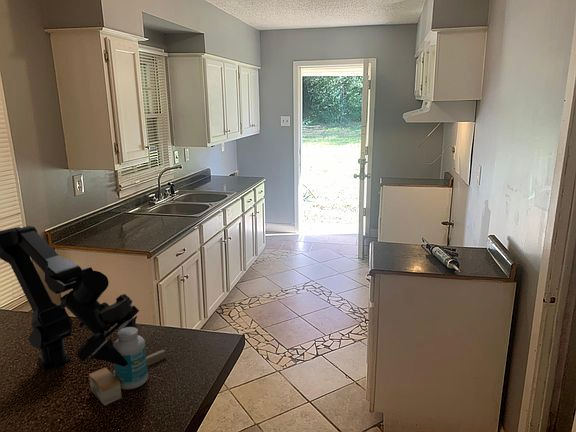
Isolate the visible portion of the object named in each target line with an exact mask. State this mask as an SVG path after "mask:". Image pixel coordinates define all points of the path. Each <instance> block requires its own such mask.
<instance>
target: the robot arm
mask: <svg viewBox="0 0 576 432" xmlns="http://www.w3.org/2000/svg"><path fill="white" fill-rule="evenodd" d="M0 260H1V261H4V262H6V263H7V264H9V265H10V267H11V269H12V271H13V273H14V275H15V277H16V279H17V281H18V284H19V285H20V287H21V289H22V292H23V294H24V295H25V297H26V300H27V301H28V303H29V305H30V308H31V309H32V311H33V314H32V318H31V319H32V321H31V327H32V331H31V332H30V334H29V336H28V341H29V344H30V346H32V347H34V348H36V349H38V350H39V352H40V358H38V359H37V362H38V363H39V365H40V366H41V368H43V370H44V371H47V370H50V369H53V368H56V367H58V366H61V365H62V364H63V365H64V364H66V363H68V362H70V361H72V358H71V357H70V356H69V355H68V354H67V353H66V347H65V341H64V339H66V338H68V337H71V336H72V327H73V321H72V319H71V317H70V315H69V314H68V312H67V311H66V309H65V308H67V310H69V312H70V313H71V314H73V315H74V316H75V317H76V318H77V319H78V321H80V323H79V324H78V326H79V327H80V328H81V329H82V328H84V327H86V328H87V329H88V330H89V331H90V332H91V333H92V334H93V335H91V336H90V337H89V338H88V339H87V340H86V341H85V342H84V343H83V344H82V345H81V346H79V348H78V349H77V350H76V357H77V358H78V359H79V360H80V361H81V362H82V363H84V362H86V360H88V358H89V359H90V361H91V360H100V361H104V362H108V363H111V364H113V365H114V364H118V365H121V366H124V367H125V366H126V365H127V364H128V363H127V361H126V360H125V359H124V357H123V356H122V355H121V354H120V353H119V352H118V351H117V350H116V349H115V348H114V347H113V338H109V337H110V336H111V335H112V334H113V333H114V332H115V331H119V330H121V329H123V328H126V327H135V328H137V326H136V324H137V319H138V316H137V314H138V313H139V312H140V309H139V308H138V307H136V306H135V305H132V303H133V299H131V298H130V297H129V296H128V295H127V294H126V293H122V294H120V295H119V296H118V297H116V299H115V302H114V303H113V304H111V305H109V304H108V303H107V302H104V301H103V302H102V303H100V302H99V301H98V300H99V299H100V297H101V296H102V294H104V292H105V291H106V290H107V289H108V287H109V285H110V282H109V279H108V277H107V275H106V274H104V273H102V272H101V271H98V270H94V269H93V267H92V266H89V267H86V268H82V267H81V266H80V265H78V264H77V263H76V262H74V260H71V259H70V258H69V259H68V258H64V257H62V256H60V255H59V254H58V253H57V252H56V251H55V250H54V248H53V247H52V246H50V245H49V243H47V242H46V240H45V239H44V238H43V237H42V236H41V235H40V234H39V233H38V229H36V227H35V226H32V225H27V226H17V227H12V228H11V227H10V228H8V229H3V230H0ZM34 263H35V264H36V265H37V266H38V267H39V268H40V270H41V271H42V272H43V273H44V282H45V283H46V285H47V288H48V289H49V290H50V291H52V292H53V294H56V295H57V294H61V293H64V292H68V291H69V290H70V291H69V292H68V293H65V294H64V295H63V296H61V297H60V298H59V300H60V304H59V305H58V304H56V303H54V301H52V299H51V297H50V294H49V293H48V290H47V289H46V287H45V284H44V283H43V280H42V279H41V277H40V275H39V274H40V273H38V270H37V268H36V266H35V264H34ZM139 333H140V332H138V335H139V336H141V335H140V334H139ZM107 338H109V339H108V340H107Z"/></svg>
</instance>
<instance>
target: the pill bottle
mask: <svg viewBox="0 0 576 432" xmlns="http://www.w3.org/2000/svg"><path fill="white" fill-rule="evenodd" d="M138 333H139V330H138V328H137V327H136V328H135V327H126V328H123V329H121V330H119V329H118V330H117V332H116V337H117V339H116V340H115V341H113V342H112V344H113V347H114V348H115V349H116V350H117V351H118V352H119V353H120V354H121V355H122V356H123V357H124V359H125V360H126V361H127V363H128V364H127V365H126V366H125V367H124V366H121V365H118V364H114V363H113V367H114V370H115V377H116V378H117V379H118V380H119V381H120V387H121V389H122V390H134V389H137V388H139V387H141V386H142V385H144V384H145V383H146V382H147V380H148V378H149V377H148V375H149V374H148V366H147V361H146V356H147V350H146V341H145V339H144V338H143V336H141V335H140V334H139V335H140V336H139V335H138Z"/></svg>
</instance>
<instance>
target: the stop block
mask: <svg viewBox="0 0 576 432" xmlns="http://www.w3.org/2000/svg"><path fill="white" fill-rule="evenodd" d="M88 377H89V384H90V385H89V386H90V391H91V393H93V394H94V395H95V397H96V398H97V399H98V400H99V401H100V403H102V405H104V406H107V405H109V404H111V403H113V402H116V401H118V400H120V399H122V398H123V396H122V390H121V389H122V388H121V387H120V381H119V380H118V379H117V378H116V377H115V376H114V375H113V372H111V371H110V370H109V369H108V368H107V367H106V366H105V367H103V368H99V369H98V370H95V371H93V372H90V373H88Z"/></svg>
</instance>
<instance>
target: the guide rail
mask: <svg viewBox="0 0 576 432" xmlns="http://www.w3.org/2000/svg"><path fill="white" fill-rule="evenodd" d="M166 353H167V352H166V350H165V349H160V350H159V351H156V352H154V353H152V354H149V355H146V361H147V367H148V366H150V365H153V364H155V363H157V362H159V361H162V360H164V359H166V358H167V354H166ZM112 374H113V375H114V376H115V369H114V370H112Z"/></svg>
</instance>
